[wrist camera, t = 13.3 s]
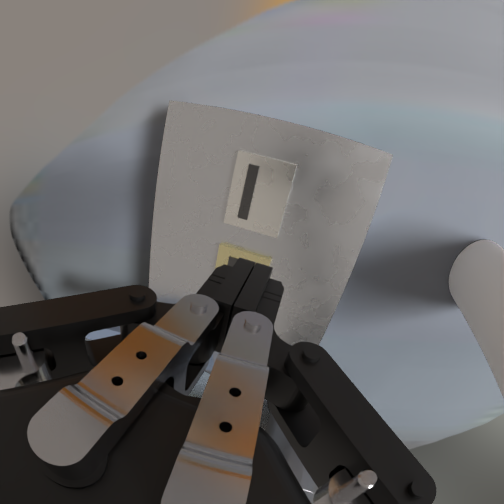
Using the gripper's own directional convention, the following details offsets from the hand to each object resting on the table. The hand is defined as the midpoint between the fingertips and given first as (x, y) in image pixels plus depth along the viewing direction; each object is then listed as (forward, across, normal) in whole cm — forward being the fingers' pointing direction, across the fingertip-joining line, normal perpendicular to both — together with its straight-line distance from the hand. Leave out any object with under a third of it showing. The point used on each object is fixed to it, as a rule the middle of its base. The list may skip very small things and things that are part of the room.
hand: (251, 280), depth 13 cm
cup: (+17, -23, +1) cm, 28 cm away
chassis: (+16, +2, +4) cm, 17 cm away
